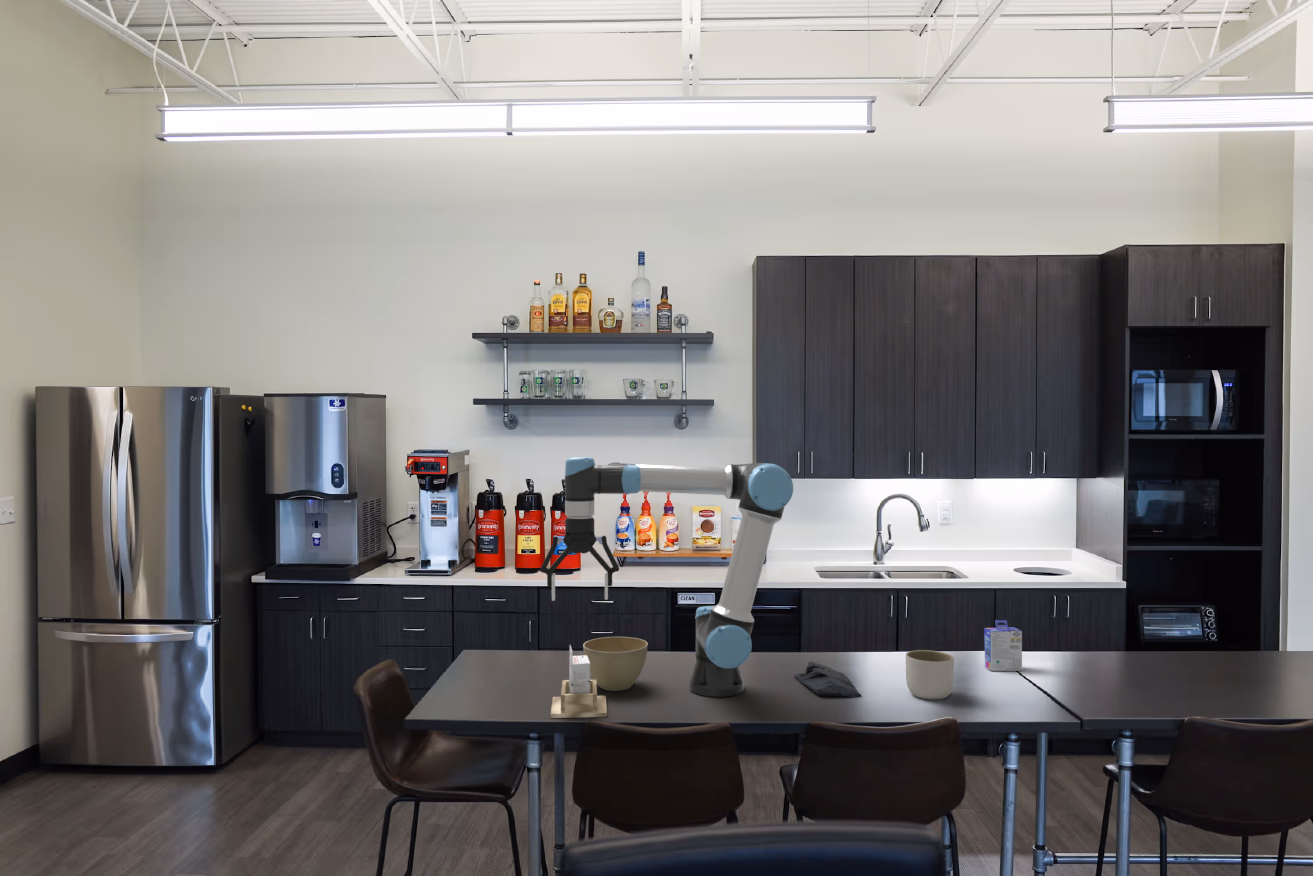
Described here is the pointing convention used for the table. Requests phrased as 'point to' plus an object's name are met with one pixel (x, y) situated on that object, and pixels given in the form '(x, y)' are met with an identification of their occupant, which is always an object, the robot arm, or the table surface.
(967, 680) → the table surface
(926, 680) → the planter
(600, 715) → the frame
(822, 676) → the dark slate chunk
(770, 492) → the robot arm
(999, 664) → the ink cartridge box
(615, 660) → the flower pot
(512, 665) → the table surface
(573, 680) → the ink box
